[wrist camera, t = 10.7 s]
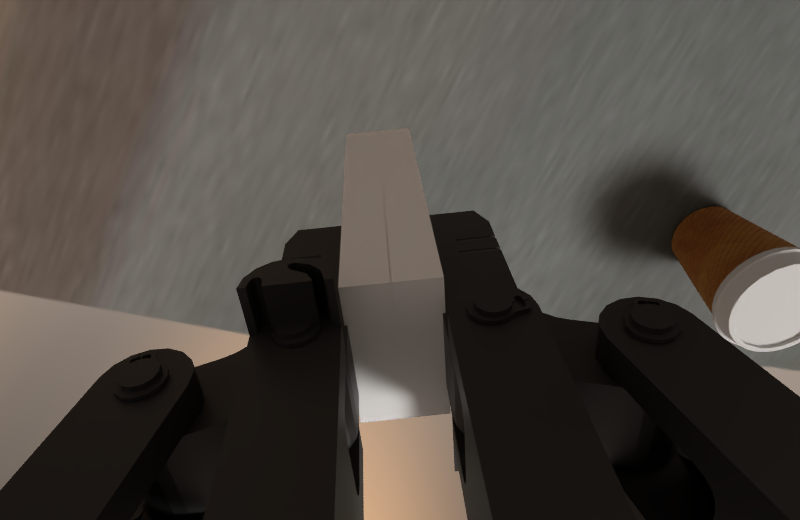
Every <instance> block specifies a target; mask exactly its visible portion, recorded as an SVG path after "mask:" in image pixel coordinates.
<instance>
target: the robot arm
mask: <svg viewBox="0 0 800 520" xmlns="http://www.w3.org/2000/svg"><path fill="white" fill-rule="evenodd" d="M236 289H237V293H238V296H239V300H240V303H241V307H242V310H243V314H244V317H245V321H246V324H247V328H248V331H249V335H250V337H249V341H248V345H247V347H245V348H244V349H242V350H240V351H239V352H237V353H234V354H232V355H230V356H227V357H225V358H222V359H219V360H216V361H213V362H210V363H207V364H203V365H201V366H197V367H194V365H193V362H192V360H191V359H190V358H189V357H188V356H187V355H186V354H185V353H183V352H181V351H177V350H173V349H157V350H149V351H146V352H142V353H139V354H136V355H132V356H130V357H129V358H127V359H124V360H123V361H121V362H119V363H117V364H115V365H114V366H112V367H111V368H110V369H109V370H108V371H106V372H105V373H104V374H103V375H102V376H101V377H100V378H99V379H98V380H97V381H96V382H95V383H94V384H93V385H92V386H91V388H90V389H89V390H88V391H87V392H86V393H85V394H84V396H83V397H82V398H81V399H80V400H79V401H78V403H77V404H76V405H75V406H74V407H73V408H72V409H71V410H70V412H69V413H68V414H67V415H66V416H65V417H64V418H63V420H62V421H61V422H60V423H59V424H58V425H57V426H56V428H55V429H54V430H53V431H52V432H51V433H50V435H49V436H48V437H47V438H46V439H45V440H44V441H43V442H42V443H41V445H40V446H39V447H38V448H37V449H36V450H35V451H34V453H33V454H32V455H31V456H30V457H29V458H28V460H27V461H26V462H25V463H24V464H23V465H22V466H21V467H20V469H19V470H18V471H17V472H16V473H15V474H14V475H13V477H12V478H11V479H10V480H9V481H8V482H7V483H6V485H5V486H4V487H3V488H2V489H1V490H0V520H364V516H363V515H364V514H363V448H362V442H361V436H360V431H359V414H360V420H361V423H363V422H372V421H382V420H390V419H400V418H409V417H420V416H429V415H438V414H448V413H450V406H451V411H452V419H453V440H454V461H455V471H459V474H460V479H461V485H462V490H463V496H464V502H465V507H466V513H467V518H468V520H800V397H799V396H798V395H797V394H795V393H794V392H793V391H792V390H790V389H789V388H788V387H786V386H785V385H784V384H782V383H781V382H780V381H779V380H777V379H776V378H775V377H773V376H772V375H771V374H769V373H768V372H767V371H766V370H764V369H763V368H762V367H761V366H759V365H758V364H757V363H755V362H754V361H753V360H751V359H750V358H749V357H748V356H746V355H745V354H744V353H742V352H741V351H740V350H739V349H737V348H736V347H735V346H733V345H732V344H731V343H730V342H728V341H727V340H726V339H724V338H723V337H722V336H720V335H719V334H718V333H717V332H715V331H714V330H713V329H711V328H710V327H709V326H708V325H706V324H705V323H704V322H702V321H701V320H700V319H698V318H697V317H696V316H695V315H693V314H692V313H690V312H688V311H687V310H685V309H683V308H681V307H680V306H678V305H676V304H673V303H670V302H666V301H663V300H660V299H655V298H645V297H633V298H625V299H619V300H617V301H615V302H613V303H611V304H609V305H607V306H606V307H605V308H604V310H603V311H602V312H601V313H600V315H599V322H598V323H595V322H586V321H577V320H569V319H563V318H557V317H554V316H551V315H548V314H545V313H542V311H541V309H540V307H539V305H538V304H537V303H536V301H535V300H534V299H533V298H532V297H531V295H529V294H527V293H525V292H523V291H521V290H520V289H518V288H517V286H516V284H515V282H514V279H513V277H512V275H511V272H510V270H509V268H508V265H507V263H506V261H505V258H504V256H503V253H502V251H501V250H500V246H499V244H498V242H497V239H496V238H495V235H494V232H493V230H492V228H491V225H490V223H489V221H487V220H486V219H484V218H483V217H482V216H480V215H479V214H477V213H476V212H475V211H465V212H456V213H446V214H436V215H429V212H428V208H427V204H426V200H425V195H424V191H423V187H422V183H421V178H420V174H419V170H418V166H417V162H416V157H415V153H414V149H413V145H412V140H411V136H410V132H409V128H404V129H394V130H384V131H374V132H364V133H354V134H347V136H346V154H345V173H344V191H343V209H342V226H336V227H326V228H317V229H307V230H298V231H297V233H296V234H295V235H294V236H293V237H292V238H291V239H290V240H289V241H288V242H287V243H286V244H285V248H284V253H283V257H282V260H280V261H275V262H271V263H269V264H266V265H264V266H261V267H259V268H257V269H255V270H254V271H252V272H251V273H250V274H248V275H247V276H245V277H244V278H243V279H242V281H241V282H240V284H239V285H238V287H237V288H236Z"/></svg>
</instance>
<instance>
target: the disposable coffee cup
mask: <svg viewBox="0 0 800 520" xmlns="http://www.w3.org/2000/svg"><path fill="white" fill-rule="evenodd" d="M671 245H672V250H673V253H674V255H675V256H676V257H677V259H678V261H679V262H680V264H681V265H682V267H683V268H684V270H685V272H686V273H687V275H688V276H689V278H690V280H691V281H692V283H693V284H694V286H695V287H696V289H697V291H698V292H699V294H700V296H701V297H702V299H703V300H704V302H705V303H706V305H707V306H708V308H709V310H710V311H711V313H712V315H713V321H714V324H715V327H716V329H717V331H718V332H719V333H720V334H721V336H722V337H723V338H725V339H726V340H728V341H729V342H732V343H734V344H737V345H740V346H742V347H743V348H745V349H748V350H752V351H759V352H768V351H776V350H780V349H784V348H787V347H790V346H793V345H795V344H797V343H799V342H800V248H798V247H796V246H795V245H793V244H790V243H789V242H787V241H785V240H784V239H781V238H779V237H778V236H776V235H774V234H772V233H770V232H768V231H767V230H764V229H763V228H761V227H759V226H758V225H755V224H753V223H752V222H750V221H748V220H746V219H744V218H742V217H740V216H739V215H737V214H735V213H733V212H731V211H730V210H728V209H726V208H723V207H706V208H702V209H699V210H697V211H695V212H693V213H692V214H690V215H689V216H687V217H686V218H685V219H684V220H683V221H682V222H681V223H680V224H679V225H678V227H677V228H676V230H675V232H674V234H673V238H672V243H671Z"/></svg>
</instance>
